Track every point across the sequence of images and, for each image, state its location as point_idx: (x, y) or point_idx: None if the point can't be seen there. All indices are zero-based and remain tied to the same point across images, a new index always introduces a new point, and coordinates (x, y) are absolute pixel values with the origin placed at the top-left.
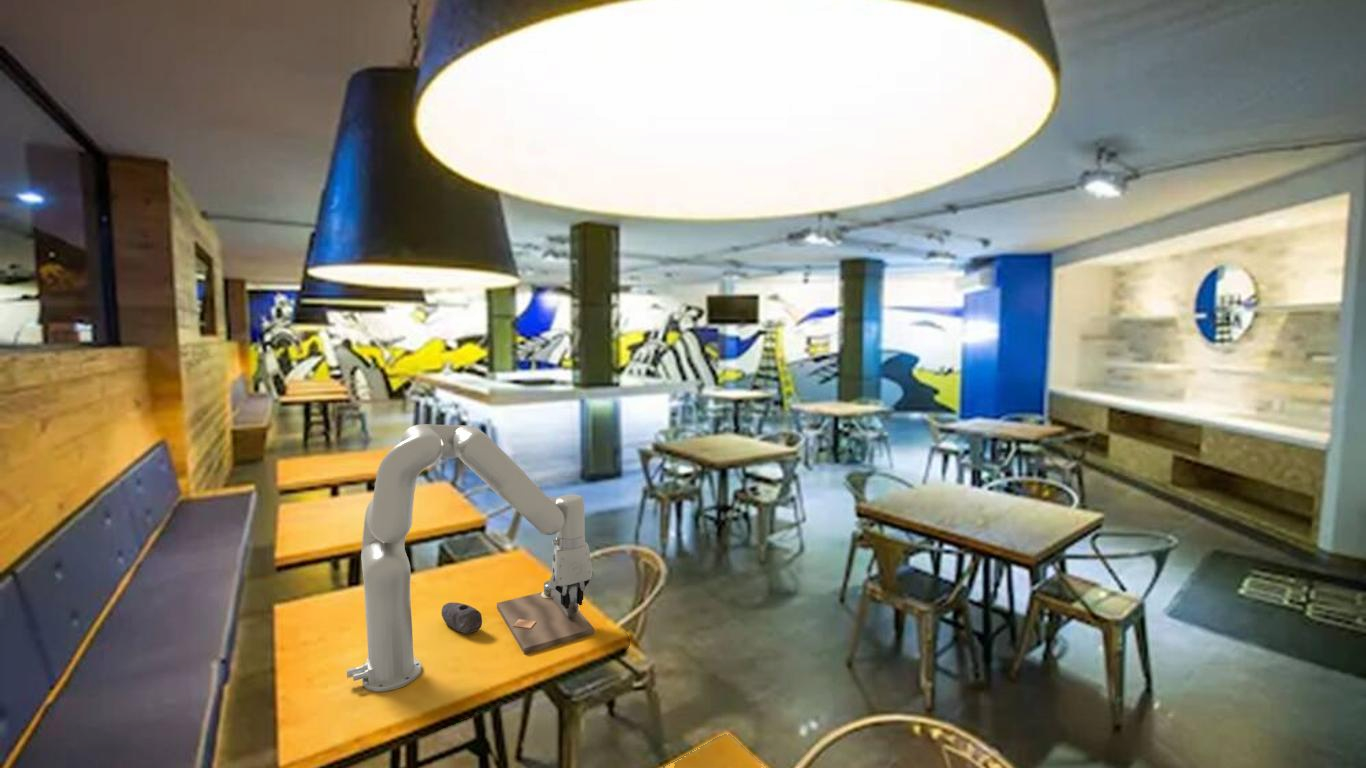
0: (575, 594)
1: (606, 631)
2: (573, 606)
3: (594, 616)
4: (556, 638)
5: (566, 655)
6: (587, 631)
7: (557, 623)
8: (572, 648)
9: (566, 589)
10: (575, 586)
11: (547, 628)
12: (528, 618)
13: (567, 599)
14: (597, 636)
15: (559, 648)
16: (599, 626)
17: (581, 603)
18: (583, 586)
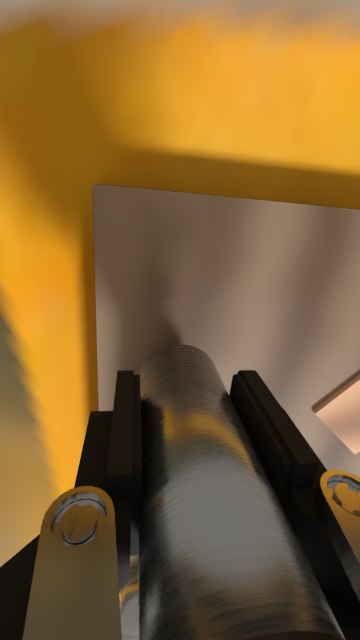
0: (196, 455)
1: (13, 165)
2: (196, 371)
3: (29, 361)
4: (335, 213)
5: (342, 53)
6: (143, 189)
7: (247, 355)
8: (276, 110)
9: (356, 549)
10: (222, 583)
11: (308, 337)
12: (317, 448)
13: (277, 423)
14: (90, 143)
15: (325, 162)
16: (37, 250)
17: (124, 375)
18: (61, 557)
